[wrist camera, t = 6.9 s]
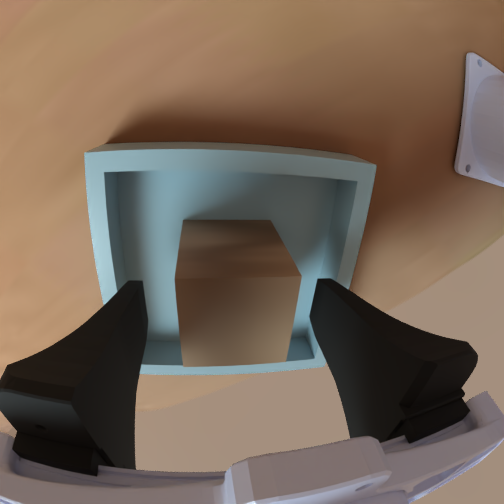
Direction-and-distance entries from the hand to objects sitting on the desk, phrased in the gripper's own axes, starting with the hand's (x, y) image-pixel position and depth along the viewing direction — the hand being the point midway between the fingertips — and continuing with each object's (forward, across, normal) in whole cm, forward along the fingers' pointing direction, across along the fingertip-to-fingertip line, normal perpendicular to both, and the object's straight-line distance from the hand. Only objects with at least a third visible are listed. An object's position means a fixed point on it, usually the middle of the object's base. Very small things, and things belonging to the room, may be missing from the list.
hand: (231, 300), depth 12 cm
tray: (+3, 0, 0) cm, 3 cm away
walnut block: (+3, 0, 0) cm, 3 cm away
